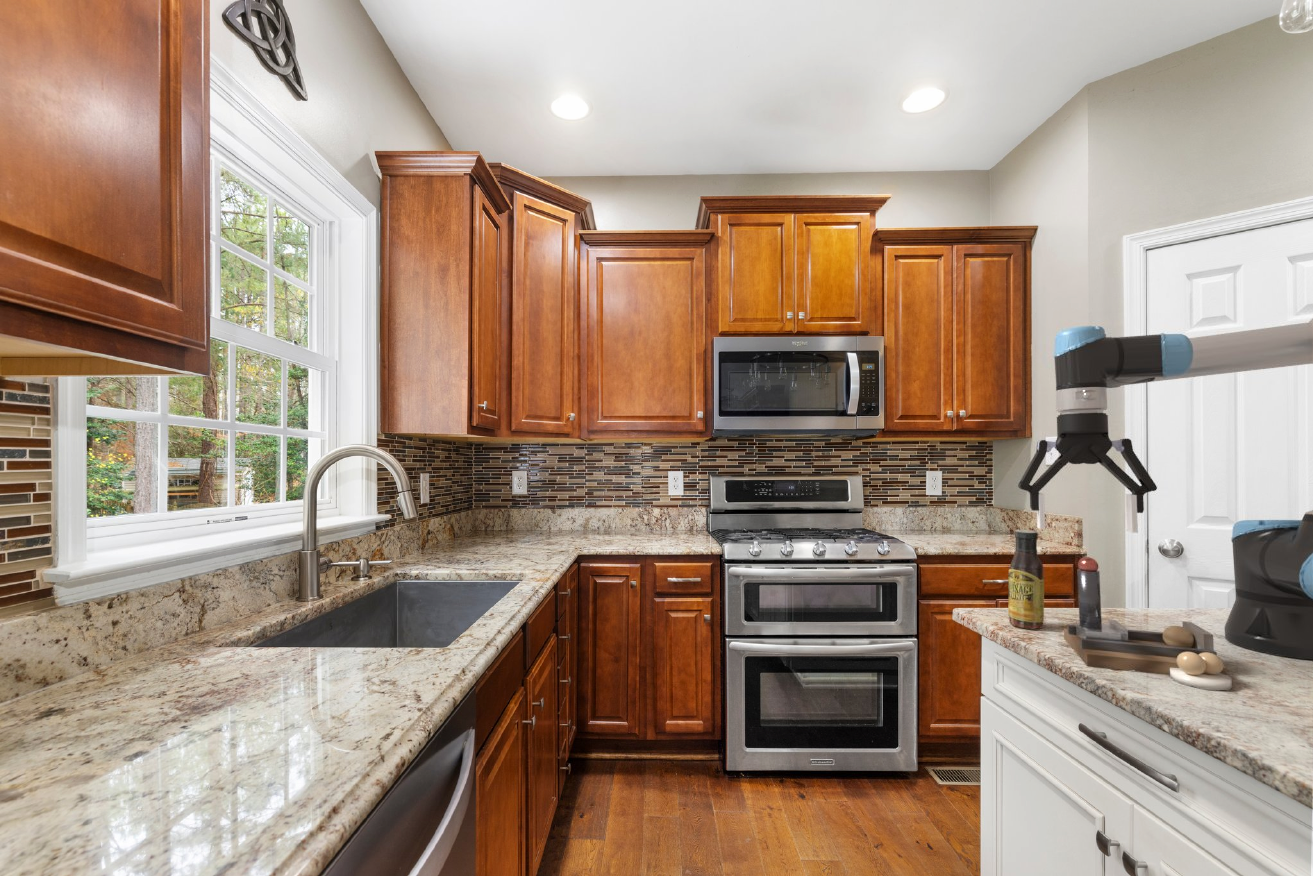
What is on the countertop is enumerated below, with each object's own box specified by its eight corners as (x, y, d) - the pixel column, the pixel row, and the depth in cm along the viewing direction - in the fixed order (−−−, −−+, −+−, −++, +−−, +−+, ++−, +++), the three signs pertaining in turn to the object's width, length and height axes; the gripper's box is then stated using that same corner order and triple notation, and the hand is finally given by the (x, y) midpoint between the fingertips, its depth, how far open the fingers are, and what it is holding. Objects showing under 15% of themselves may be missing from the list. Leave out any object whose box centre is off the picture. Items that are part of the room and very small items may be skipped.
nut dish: (1218, 677, 92) (1216, 647, 92) (1241, 693, 86) (1239, 662, 86) (1162, 671, 95) (1161, 642, 95) (1181, 686, 89) (1179, 656, 89)
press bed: (1182, 649, 105) (1181, 616, 106) (1227, 680, 91) (1225, 641, 91) (1064, 638, 112) (1062, 607, 113) (1087, 666, 98) (1085, 630, 98)
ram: (1116, 637, 105) (1112, 555, 106) (1128, 648, 100) (1124, 561, 100) (1075, 634, 108) (1072, 553, 108) (1085, 644, 102) (1081, 559, 102)
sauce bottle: (1002, 624, 123) (998, 529, 123) (1021, 620, 125) (1017, 528, 126) (1033, 632, 117) (1029, 533, 117) (1052, 628, 119) (1048, 531, 120)
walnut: (1188, 647, 100) (1187, 624, 101) (1199, 654, 97) (1197, 630, 97) (1159, 645, 102) (1158, 622, 102) (1168, 652, 98) (1167, 628, 98)
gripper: (1005, 414, 107) (1009, 529, 107) (1177, 408, 97) (1182, 535, 97) (999, 416, 114) (1002, 525, 113) (1159, 411, 104) (1164, 530, 104)
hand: (1085, 530), depth 105 cm, fingers open, 13 cm apart
